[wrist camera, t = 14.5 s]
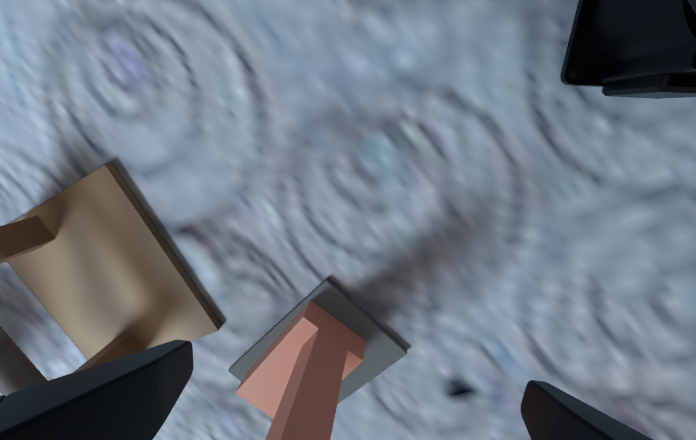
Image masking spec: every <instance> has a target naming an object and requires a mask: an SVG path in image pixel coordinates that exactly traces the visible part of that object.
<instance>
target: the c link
mask: <svg viewBox="0 0 696 440" xmlns="http://www.w3.org/2000/svg"><path fill="white" fill-rule="evenodd" d="M364 349H365V340H364V339H362V338H361V337H360V336H358V335H357V334H356V333H354V332H353V331H352V330H350V329H349V328H347V327H346V326H345V325H343V324H342V323H341V322H339V321H338V320H337V319H335V318H334V317H333V316H331V315H330V314H329V313H327V312H326V311H324V310H323V309H322V308H320V307H319V306H318V305H316V304H315V303H314V302H312V301H311V300H310V301H309V302H308V303H307V305H306V306H305V307H304V308H303V309H302V310H301V311H300V313H299V314H298V315H297V316H296V317H295V318H294V319H293V321H292V322H291V323H290V324H289V325H288V326H287V327H286V328H285V330H284V331H283V332H282V333H281V334H280V335H279V336H278V338H277V339H276V340H275V341H274V342H273V343H272V344H271V346H270V347H269V348H268V349H267V350H266V351H265V352H264V353H263V355H262V356H261V357H260V358H259V359H258V360H257V361H256V363H255V364H254V365H253V366H252V367H251V368H250V369H249V371H248V372H247V373H246V375H245V376H244V378H243V380H242V382H241V384H240V385H239V387H238V389H237V391H236V392H235V393H236V394H237V395H239V396H240V397H242V398H243V399H245V400H246V401H248V402H249V403H251V404H252V405H253V406H255V407H256V408H258V409H259V410H261V411H262V412H264V413H265V414H267V415H268V416H269V417H271V418H272V419H273V422H272V424H271V427H270V429H269V432H268V435H267V437H266V440H330V437H331V432H332V427H333V422H334V417H335V412H336V407H337V402H338V396H339V391H340V386H341V381H342V380H343V379H344V378H345V377H346V376H347V375H348V374H349V373H350V372H352V371H353V370H354V369H355V368H356V367H357V366H358V365H359V364H360V363H361V362H362V361H363V357H364Z"/></svg>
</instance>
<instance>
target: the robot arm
mask: <svg viewBox="0 0 696 440" xmlns="http://www.w3.org/2000/svg"><path fill="white" fill-rule="evenodd" d="M572 70H575V71H576V77H575V78H574V79H571V78H570V72H571V71H572ZM561 81H562V82H563V83H564V84H566V85H574V86H596V87H603V88H602V93H603V94H604V95H605V96H615V97H635V98H679V97H696V0H579V2H578V6H577V10H576V14H575V18H574V22H573V26H572V31H571V35H570V39H569V43H568V47H567V51H566V55H565V59H564V63H563V67H562V71H561ZM192 372H193V350H192V343H191V342H190V341H186V340H173V341H170V342H167V343H164V344H160V345H157V346H154V347H151V348H148V349H145V350H142V351H139V352H136V353H133V354H130V355H127V356H124V357H120V358H117V359H114V360H111V361H108V362H105V363H102V364H99V365H96V366H93V367H90V368H87V369H84V370H80V371H77V372H74V373H71V374H68V375H65V376H62V377H59V378H56V379H53V380H50V381H47V382H44V383H41V384H37V385H34V386H31V387H28V388H25V389H22V390H19V391H16V392H13V393H10V394H8V395H7V396H5V395H2V396H0V440H152V439H153V438H154V437H155V435H156V434H157V432H158V431H159V429H160V428H161V427H162V425H163V423H164V422H165V420H166V419H167V417H168V415H169V413H170V412H171V410H172V408H173V407H174V405H175V403H176V401H177V400H178V398H179V396H180V394H181V393H182V391H183V389H184V388H185V386H186V384H187V382H188V381H189V379H190V377H191V375H192ZM521 414H522V418H523V420H524V423H525V425H526V428H527V430H528V433H529V435H530V438H531V440H653V439H651V438H649V437H647V436H645V435H643V434H641V433H640V432H638V431H636V430H634V429H632V428H630V427H628V426H627V425H625V424H623V423H621V422H619V421H617V420H616V419H614V418H612V417H610V416H608V415H606V414H604V413H603V412H601V411H599V410H597V409H595V408H593V407H591V406H590V405H588V404H586V403H584V402H582V401H580V400H578V399H577V398H575V397H573V396H571V395H569V394H567V393H565V392H564V391H562V390H560V389H558V388H556V387H554V386H552V385H551V384H549V383H547V382H543V381H535V380H531V381H529V382H528V383H527V386H526V389H525V392H524V396H523V399H522V403H521Z"/></svg>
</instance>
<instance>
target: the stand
mask: <svg viewBox="0 0 696 440" xmlns="http://www.w3.org/2000/svg"><path fill="white" fill-rule="evenodd" d="M3 262H7V263H8V264H9V265H10V266H11V268H12V269H13V270H14V271H15V273H16V274H17V275H18V276H19V277H20V279H21V280H22V281H23V282H24V284H25V285H26V286H27V287H28V288H29V290H30V291H31V292H32V293H33V295H34V296H35V297H36V298H37V299H38V301H39V302H40V303H41V304H42V306H43V307H44V308H45V309H46V310H47V312H48V313H49V314H50V315H51V316H52V318H53V319H54V320H55V321H56V323H57V324H58V325H59V326H60V327H61V329H62V330H63V331H64V332H65V334H66V335H67V336H68V337H69V338H70V340H71V341H72V342H73V343H74V345H75V346H76V347H77V348H78V349H79V351H80V352H81V353H82V354H83V356H84V357H85V358H86V359H87V360H88V361H87V362H86V363H84V364H83V365H82V366H81V367H79V368H78V369H77V370H76V371H75V372H77V371H80V370H84V369H87V368H90V367H93V366H96V365H99V364H102V363H105V362H108V361H111V360H114V359H117V358H120V357H124V356H127V355H130V354H133V353H136V352H139V351H142V350H145V349H148V348H151V347H154V346H157V345H160V344H164V343H167V342H170V341H173V340H186V341H192V340H195V339H198V338H200V337H203V336H205V335H208V334H211V333H213V332H216V331H218V330H219V329H220V328H221V326H222V325H221V323H220V322H219V320H218V319H217V317H216V316H215V315H214V313H213V312H212V310H211V309H210V307H209V306H208V304H207V303H206V301H205V300H204V298H203V297H202V295H201V294H200V292H199V291H198V289H197V288H196V286H195V285H194V283H193V282H192V280H191V279H190V278H189V276H188V275H187V273H186V272H185V270H184V269H183V267H182V266H181V264H180V263H179V261H178V260H177V258H176V257H175V255H174V254H173V252H172V251H171V249H170V248H169V246H168V245H167V244H166V242H165V241H164V239H163V238H162V236H161V235H160V233H159V232H158V230H157V229H156V227H155V226H154V224H153V223H152V221H151V220H150V218H149V217H148V215H147V214H146V212H145V211H144V210H143V208H142V207H141V205H140V204H139V202H138V201H137V199H136V198H135V196H134V195H133V193H132V192H131V190H130V189H129V187H128V186H127V184H126V183H125V181H124V180H123V178H122V177H121V175H120V174H119V173H118V171H117V170H116V168H115V167H114V165H113V164H112V163H111V164H105V165H103V166H102V167H100V168H99V169H97V170H95V171H94V172H92V173H91V174H89V175H87V176H86V177H84V178H83V179H81V180H79V181H78V182H76V183H75V184H73V185H71V186H70V187H68V188H67V189H65V190H63V191H62V192H60V193H59V194H57V195H55V196H54V197H52V198H51V199H49V200H47V201H46V202H44V203H43V204H41V205H39V206H38V207H36V208H35V209H33V210H31V211H30V212H28V213H27V214H25V215H23V216H22V217H20V218H19V219H17V220H15V221H14V222H12V223H11V224H7V225H4V226H0V264H1V263H3ZM73 373H74V372H73ZM44 382H47V379H46V378H45V377H44V376H43V375H42V374H41V372H40V371H39V370H38V369H37V368H36V367H35V366H34V364H33V363H32V362H31V361H30V360H29V359H28V358H27V356H26V355H25V354H24V353H23V352H22V351H21V350H20V348H19V347H18V346H17V345H16V344H15V343H14V342H13V340H12V339H11V338H10V337H9V336H8V335H7V333H6V332H5V331H4V330H3V329H2V328H1V327H0V392H1V393H2V394H3V395H5V396H7V395H8V394H10V393H13V392H16V391H19V390H22V389H25V388H28V387H31V386H34V385H37V384H41V383H44Z"/></svg>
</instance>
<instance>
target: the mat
mask: <svg viewBox="0 0 696 440" xmlns="http://www.w3.org/2000/svg"><path fill="white" fill-rule="evenodd" d="M310 300H311V301H312V302H314V303H315V304H316V305H318V306H319V307H320V308H322V309H323V310H324V311H326V312H327V313H329V314H330V315H331V316H333V317H334V318H335V319H337V320H338V321H339V322H341V323H342V324H343V325H345V326H346V327H347V328H349V329H350V330H352V331H353V332H354V333H356V334H357V335H358V336H360V337H361V338H362V339H364V340H365V349H364V357H363V361H362V362H361V363H360V364H359V365H358V366H357V367H356V368H355V369H354V370H353V371H352V372H350V373H349V374H348V375H347V376H346V377H345V378H344V379H343V380H342V381H341V386H340V391H339V396H338V402H337V404H338V403H340V402H341V401H342V400H344V399H345V398H347V397H348V396H349V395H351V394H352V393H353V392H355V391H356V390H358V389H359V388H360V387H362V386H363V385H364V384H366V383H367V382H369V381H370V380H371V379H373V378H374V377H376V376H377V375H378V374H380V373H381V372H382V371H384V370H385V369H387V368H388V367H389V366H391V365H392V364H393V363H395V362H396V361H398V360H399V359H400V358H402V357H403V356H405V355H406V354H407V350H406V349H405V348H404V347H403V346H402V345H401V344H400V343H399V342H397V341H396V340H395V339H394V338H393V337H392V336H391V335H390V334H388V333H387V332H386V331H385V330H384V329H383V328H382V327H381V326H380V325H378V324H377V323H376V322H375V321H374V320H373V319H372V318H371V317H370V316H368V315H367V314H366V313H365V312H364V311H363V310H362V309H361V308H360V307H358V306H357V305H356V304H355V303H354V302H353V301H352V300H351V299H350V298H348V297H347V296H346V295H345V294H344V293H343V292H342V291H341V290H340V289H338V288H337V287H336V286H335V285H334V284H333V283H332V282H331V281H329V280H328V279H327V278H326V279H325V280H324V281H323V282H322V283H321V284H320V285H319V286H318V287H316V288H315V289H314V290H313V291H312V292H311V293H310V294H309V295H308V296H307V297H306V298H305V299H303V300H302V301H301V302H300V303H299V304H298V305H297V306H296V307H295V308H294V309H293V310H292V311H290V312H289V313H288V314H287V315H286V316H285V317H284V318H283V319H282V320H281V321H280V322H279V323H277V324H276V325H275V326H274V327H273V328H272V329H271V330H270V331H269V332H268V333H267V334H266V335H264V336H263V337H262V338H261V339H260V340H259V341H258V342H257V343H256V344H255V345H254V346H253V347H251V348H250V349H249V350H248V351H247V352H246V353H245V354H244V355H243V356H242V357H241V358H240V359H238V360H237V361H236V362H235V363H234V364H233V365H232V366H231V367H230V368H229V370H228V371H229V372H230V373H231V374H233V375H234V376H235V377H236V378H238V379H239V380H240V381H241V382H242V380H243V378H244V376H245V375H246V373H247V372H248V371H249V369H250V368H251V367H252V366H253V365H254V364H255V363H256V361H257V360H258V359H259V358H260V357H261V356H262V355H263V353H264V352H265V351H266V350H267V349H268V348H269V347H270V346H271V344H272V343H273V342H274V341H275V340H276V339H277V338H278V336H279V335H280V334H281V333H282V332H283V331H284V330H285V328H286V327H287V326H288V325H289V324H290V323H291V322H292V321H293V319H294V318H295V317H296V316H297V315H298V314H299V313H300V311H301V310H302V309H303V308H304V307H305V306H306V305H307V303H308V302H309V301H310Z"/></svg>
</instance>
